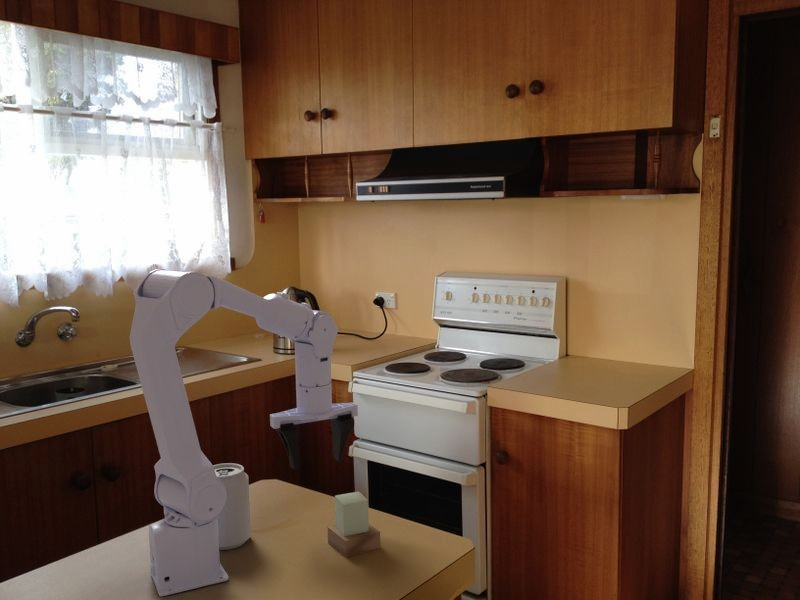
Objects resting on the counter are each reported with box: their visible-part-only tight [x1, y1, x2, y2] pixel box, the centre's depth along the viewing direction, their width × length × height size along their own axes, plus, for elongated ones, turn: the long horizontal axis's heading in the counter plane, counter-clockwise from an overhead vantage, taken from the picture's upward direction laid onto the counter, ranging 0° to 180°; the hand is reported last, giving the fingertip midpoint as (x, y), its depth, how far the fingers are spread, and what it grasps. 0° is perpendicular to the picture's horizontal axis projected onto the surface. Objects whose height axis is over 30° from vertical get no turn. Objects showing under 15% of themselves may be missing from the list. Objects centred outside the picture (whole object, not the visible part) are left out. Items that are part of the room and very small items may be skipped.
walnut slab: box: [327, 522, 381, 559], centre depth 116 cm, size 6×6×3 cm
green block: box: [334, 491, 369, 536], centre depth 116 cm, size 4×4×5 cm
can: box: [212, 462, 252, 551], centre depth 118 cm, size 8×8×12 cm
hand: (316, 463), depth 123 cm, fingers open, 7 cm apart
